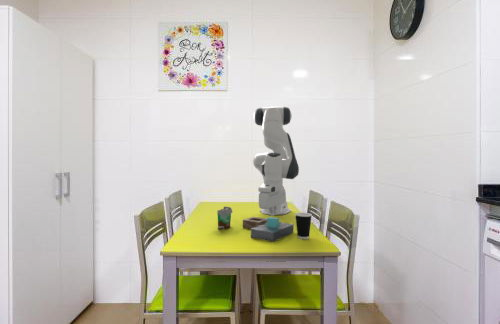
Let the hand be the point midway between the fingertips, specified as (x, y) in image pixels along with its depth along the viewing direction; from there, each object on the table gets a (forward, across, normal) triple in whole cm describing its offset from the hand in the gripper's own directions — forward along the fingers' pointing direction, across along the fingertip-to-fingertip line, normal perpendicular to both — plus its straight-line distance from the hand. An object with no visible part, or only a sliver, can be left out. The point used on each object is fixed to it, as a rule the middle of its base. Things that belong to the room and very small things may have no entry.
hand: (273, 215), depth 149 cm
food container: (+10, +2, -27) cm, 29 cm away
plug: (+9, 0, 0) cm, 9 cm away
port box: (+9, 0, 0) cm, 9 cm away
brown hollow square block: (+10, -8, -15) cm, 19 cm away
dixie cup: (+10, -4, +14) cm, 17 cm away
